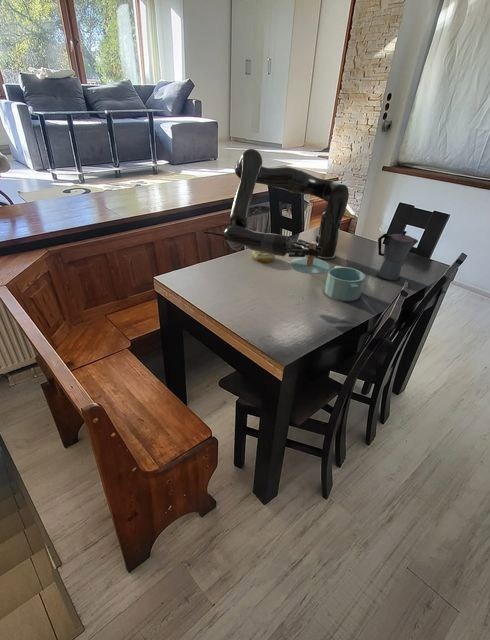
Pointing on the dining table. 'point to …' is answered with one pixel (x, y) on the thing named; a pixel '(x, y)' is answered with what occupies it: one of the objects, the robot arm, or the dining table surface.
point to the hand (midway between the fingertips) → (319, 252)
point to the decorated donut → (263, 256)
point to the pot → (344, 283)
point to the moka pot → (395, 254)
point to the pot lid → (310, 263)
